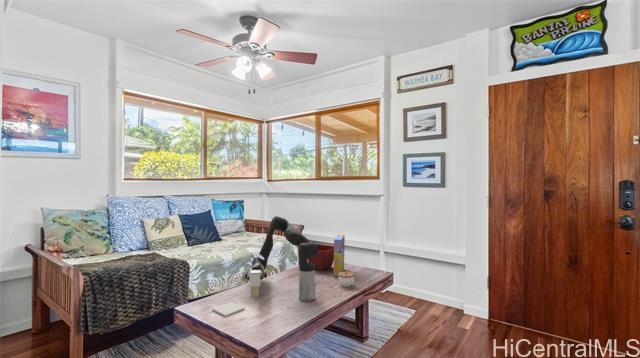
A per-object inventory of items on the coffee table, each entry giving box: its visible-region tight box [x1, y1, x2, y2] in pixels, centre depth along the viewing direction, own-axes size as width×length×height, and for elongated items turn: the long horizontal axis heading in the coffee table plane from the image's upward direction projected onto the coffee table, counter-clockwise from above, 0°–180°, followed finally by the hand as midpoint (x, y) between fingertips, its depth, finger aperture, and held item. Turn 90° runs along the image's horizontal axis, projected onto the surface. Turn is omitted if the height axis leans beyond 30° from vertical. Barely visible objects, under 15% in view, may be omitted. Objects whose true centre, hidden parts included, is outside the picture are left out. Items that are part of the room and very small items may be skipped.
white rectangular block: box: [248, 269, 262, 287], centre depth 188 cm, size 6×6×8 cm
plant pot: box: [307, 243, 334, 272], centre depth 248 cm, size 19×19×17 cm
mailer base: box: [250, 286, 260, 298], centre depth 188 cm, size 5×5×14 cm
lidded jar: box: [337, 270, 355, 288], centre depth 209 cm, size 11×11×9 cm
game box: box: [332, 234, 346, 277], centre depth 237 cm, size 21×6×27 cm, turn 168°
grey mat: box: [211, 301, 245, 318], centre depth 166 cm, size 12×12×1 cm
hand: (254, 278), depth 186 cm, fingers open, 7 cm apart
